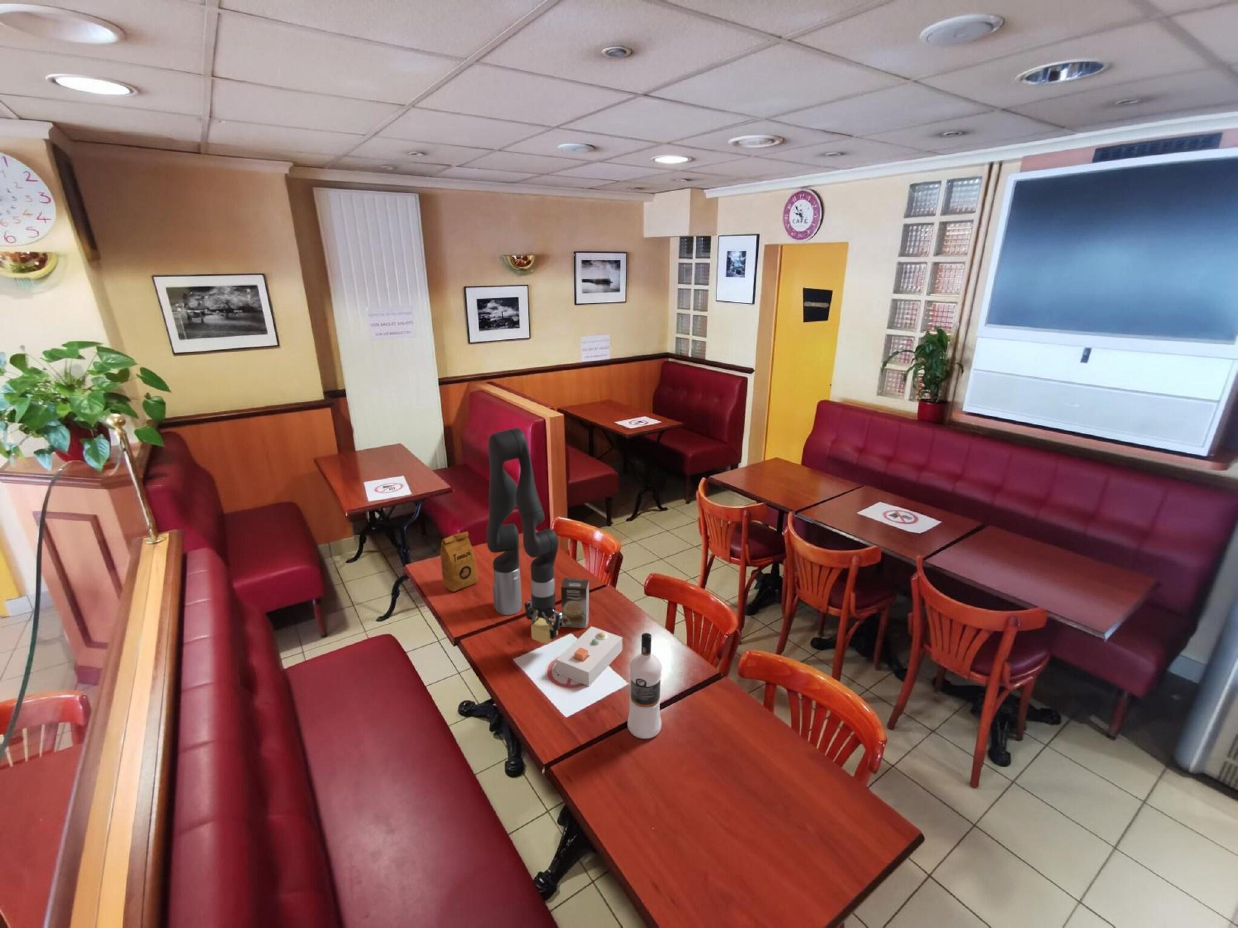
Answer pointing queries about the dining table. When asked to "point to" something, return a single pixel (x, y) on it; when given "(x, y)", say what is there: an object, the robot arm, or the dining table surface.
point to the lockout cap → (541, 631)
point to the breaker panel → (589, 656)
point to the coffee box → (575, 602)
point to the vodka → (645, 692)
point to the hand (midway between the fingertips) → (544, 634)
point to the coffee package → (458, 562)
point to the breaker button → (581, 654)
